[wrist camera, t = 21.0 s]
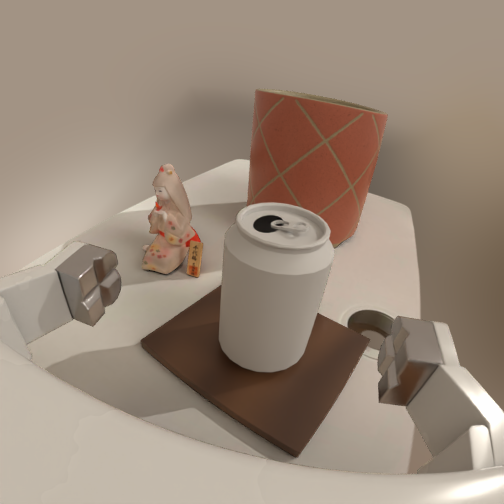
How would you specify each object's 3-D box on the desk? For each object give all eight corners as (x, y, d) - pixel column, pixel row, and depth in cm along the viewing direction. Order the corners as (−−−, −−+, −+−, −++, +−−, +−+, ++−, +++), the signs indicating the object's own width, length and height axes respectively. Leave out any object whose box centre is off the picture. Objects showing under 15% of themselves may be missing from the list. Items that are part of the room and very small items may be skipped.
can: (243, 304, 31) (256, 188, 24) (314, 332, 28) (350, 216, 22) (201, 354, 25) (202, 223, 18) (284, 392, 22) (325, 265, 16)
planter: (265, 190, 60) (278, 89, 50) (361, 216, 55) (385, 111, 45) (221, 229, 45) (232, 88, 34) (351, 268, 40) (391, 117, 29)
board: (367, 345, 28) (370, 339, 28) (296, 458, 18) (300, 453, 18) (238, 279, 36) (239, 272, 35) (141, 347, 26) (140, 340, 25)
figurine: (124, 263, 35) (123, 163, 31) (159, 246, 41) (162, 157, 37) (184, 287, 32) (189, 173, 28) (216, 265, 38) (225, 167, 34)
